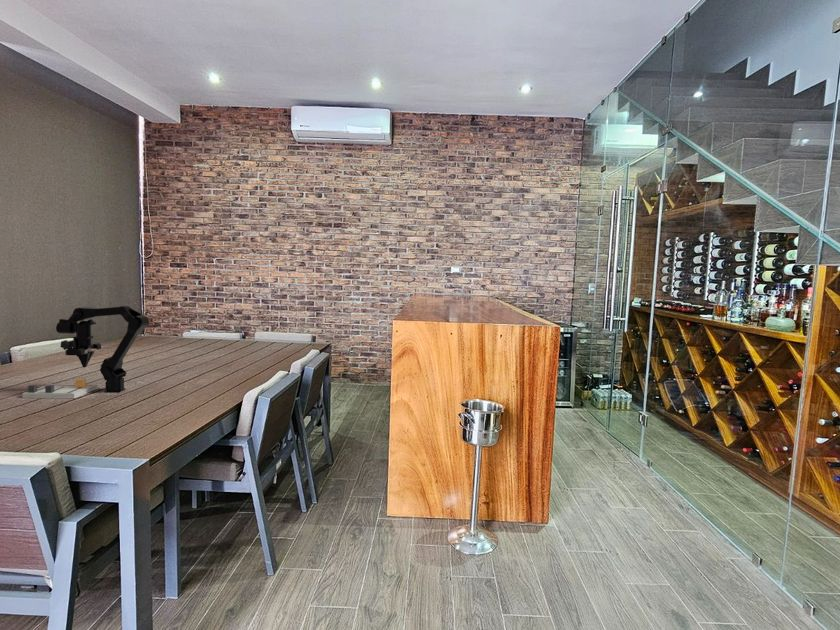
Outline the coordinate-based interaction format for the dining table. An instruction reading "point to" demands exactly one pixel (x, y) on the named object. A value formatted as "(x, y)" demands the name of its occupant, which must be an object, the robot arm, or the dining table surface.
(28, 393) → the breaker panel
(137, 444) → the dining table surface
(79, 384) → the block
